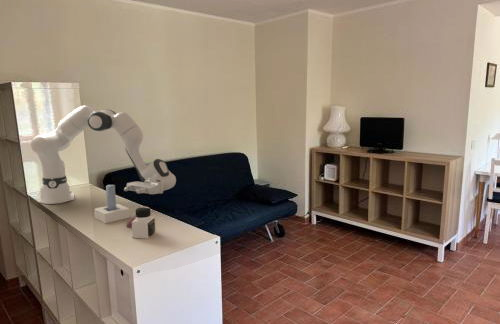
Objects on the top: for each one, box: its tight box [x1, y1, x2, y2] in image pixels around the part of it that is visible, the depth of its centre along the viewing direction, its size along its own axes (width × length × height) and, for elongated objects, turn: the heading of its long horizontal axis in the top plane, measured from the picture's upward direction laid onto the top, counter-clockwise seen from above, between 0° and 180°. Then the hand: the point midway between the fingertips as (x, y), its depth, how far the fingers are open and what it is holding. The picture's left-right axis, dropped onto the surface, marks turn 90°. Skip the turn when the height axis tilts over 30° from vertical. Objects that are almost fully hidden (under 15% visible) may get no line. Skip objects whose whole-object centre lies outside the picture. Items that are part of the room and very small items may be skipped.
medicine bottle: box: [131, 206, 156, 240], centre depth 144 cm, size 7×7×12 cm
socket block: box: [93, 203, 130, 224], centre depth 168 cm, size 12×12×4 cm
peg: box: [105, 184, 117, 211], centre depth 167 cm, size 4×4×16 cm
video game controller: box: [125, 214, 136, 229], centre depth 153 cm, size 10×5×7 cm, turn 48°
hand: (130, 190), depth 177 cm, fingers open, 8 cm apart
